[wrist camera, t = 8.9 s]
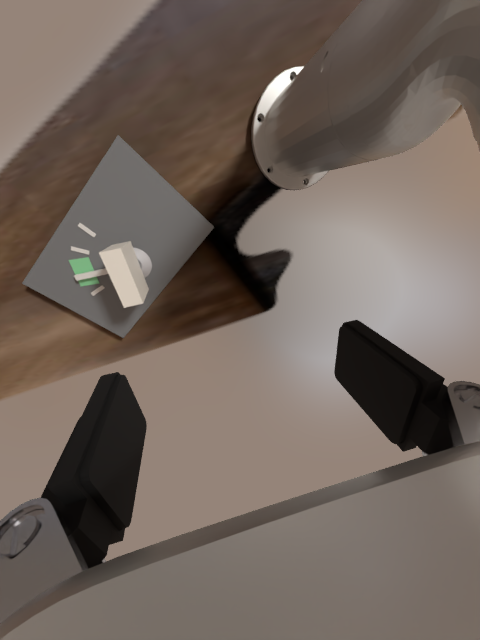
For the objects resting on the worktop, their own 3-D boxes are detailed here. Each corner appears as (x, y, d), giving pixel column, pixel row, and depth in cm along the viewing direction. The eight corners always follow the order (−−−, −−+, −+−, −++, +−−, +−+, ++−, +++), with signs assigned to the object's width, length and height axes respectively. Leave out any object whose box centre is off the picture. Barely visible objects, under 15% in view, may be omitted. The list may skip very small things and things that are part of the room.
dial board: (122, 139, 27) (117, 134, 25) (212, 225, 33) (214, 227, 31) (30, 278, 31) (21, 283, 30) (126, 331, 38) (123, 338, 36)
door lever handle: (63, 252, 29) (32, 266, 23) (133, 238, 30) (120, 248, 24) (88, 299, 32) (66, 321, 26) (150, 284, 33) (143, 303, 27)
